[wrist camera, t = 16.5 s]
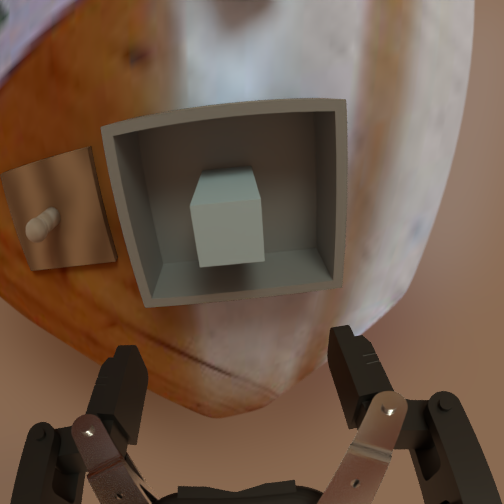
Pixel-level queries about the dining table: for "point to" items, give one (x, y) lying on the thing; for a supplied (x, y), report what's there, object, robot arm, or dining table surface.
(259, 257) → the pale grey rectangular block
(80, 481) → the robot arm
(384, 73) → the dining table surface
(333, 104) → the bin
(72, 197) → the stud block
